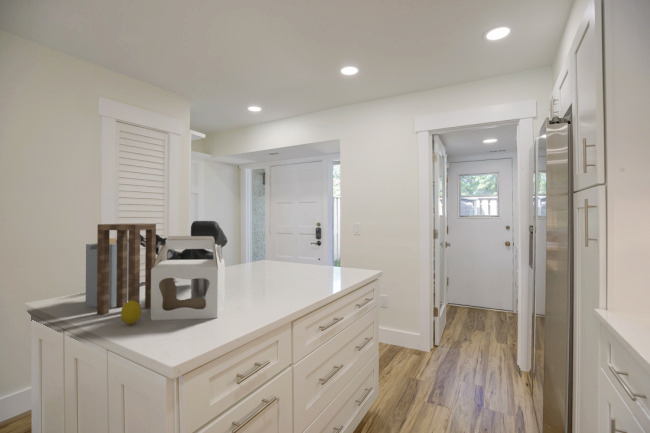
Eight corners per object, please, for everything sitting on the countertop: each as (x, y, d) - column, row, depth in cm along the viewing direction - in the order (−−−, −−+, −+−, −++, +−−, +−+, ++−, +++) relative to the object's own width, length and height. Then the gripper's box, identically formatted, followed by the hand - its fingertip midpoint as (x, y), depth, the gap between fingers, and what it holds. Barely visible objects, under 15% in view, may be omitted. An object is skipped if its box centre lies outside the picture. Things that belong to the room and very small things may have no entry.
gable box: (149, 320, 105) (150, 237, 105) (164, 309, 118) (165, 235, 118) (218, 318, 108) (218, 237, 108) (225, 307, 121) (225, 235, 121)
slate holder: (134, 297, 134) (135, 241, 134) (110, 307, 120) (110, 244, 120) (112, 297, 135) (112, 241, 135) (85, 306, 121) (86, 244, 121)
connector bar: (141, 244, 143) (141, 235, 143) (108, 249, 123) (108, 238, 123) (133, 244, 143) (133, 235, 143) (98, 248, 123) (98, 238, 123)
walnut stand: (155, 305, 122) (155, 223, 122) (134, 315, 110) (135, 224, 110) (120, 305, 123) (121, 223, 123) (96, 314, 111) (97, 224, 111)
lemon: (144, 322, 103) (145, 298, 103) (133, 328, 98) (133, 302, 98) (129, 321, 104) (129, 297, 104) (116, 327, 98) (116, 302, 98)
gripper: (174, 256, 161) (158, 243, 147) (147, 256, 162) (129, 242, 148) (178, 243, 165) (163, 229, 151) (152, 243, 166) (134, 228, 152)
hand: (146, 235), depth 150 cm, fingers open, 8 cm apart
